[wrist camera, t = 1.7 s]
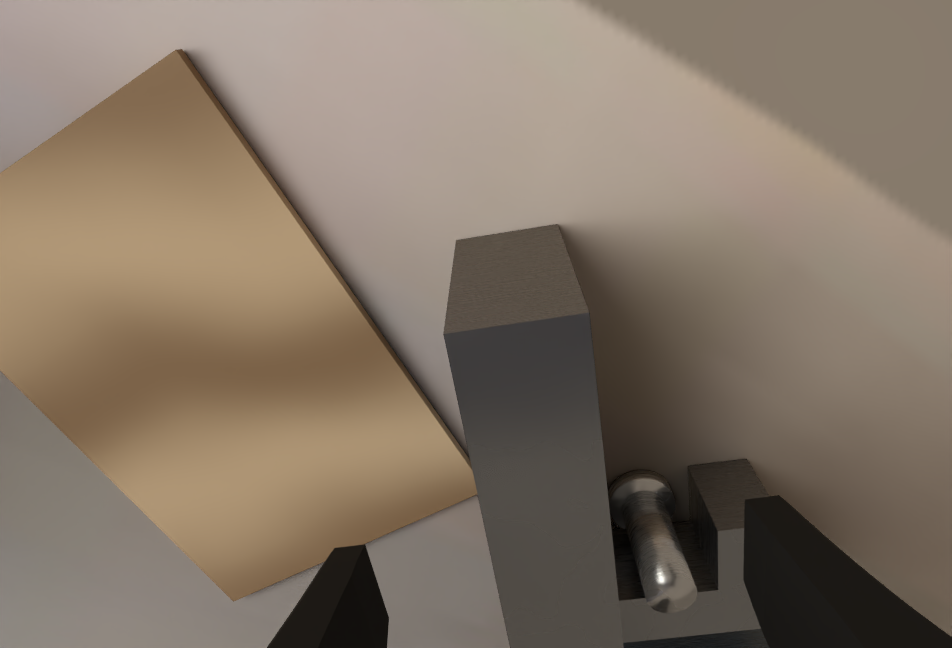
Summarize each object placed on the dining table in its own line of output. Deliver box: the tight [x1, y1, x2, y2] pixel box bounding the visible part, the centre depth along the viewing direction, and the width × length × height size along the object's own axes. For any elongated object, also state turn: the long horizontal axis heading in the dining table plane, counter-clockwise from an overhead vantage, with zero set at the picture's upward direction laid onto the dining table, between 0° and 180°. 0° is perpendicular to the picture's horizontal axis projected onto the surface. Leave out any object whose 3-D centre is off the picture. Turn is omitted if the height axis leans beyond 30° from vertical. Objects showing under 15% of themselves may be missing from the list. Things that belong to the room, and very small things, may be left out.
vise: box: [608, 470, 769, 648], centre depth 18 cm, size 9×7×4 cm
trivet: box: [0, 49, 477, 601], centre depth 16 cm, size 13×9×1 cm
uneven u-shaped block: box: [443, 224, 769, 648], centre depth 15 cm, size 11×7×5 cm, turn 10°
